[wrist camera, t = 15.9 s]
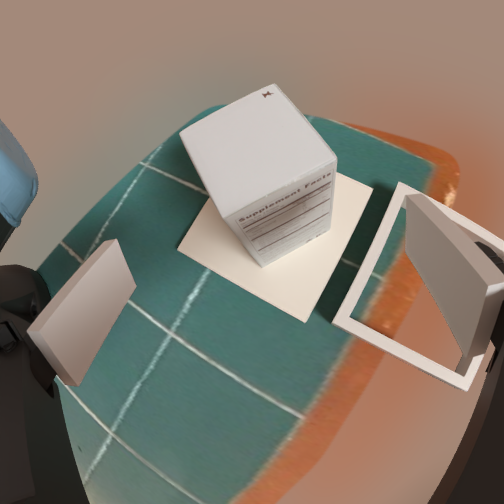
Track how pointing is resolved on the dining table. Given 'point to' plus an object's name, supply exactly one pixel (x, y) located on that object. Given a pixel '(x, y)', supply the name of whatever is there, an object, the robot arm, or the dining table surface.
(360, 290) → the white square frame
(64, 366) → the robot arm
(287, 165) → the supplement box
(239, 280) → the cream coaster
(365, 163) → the dining table surface
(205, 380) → the dining table surface
